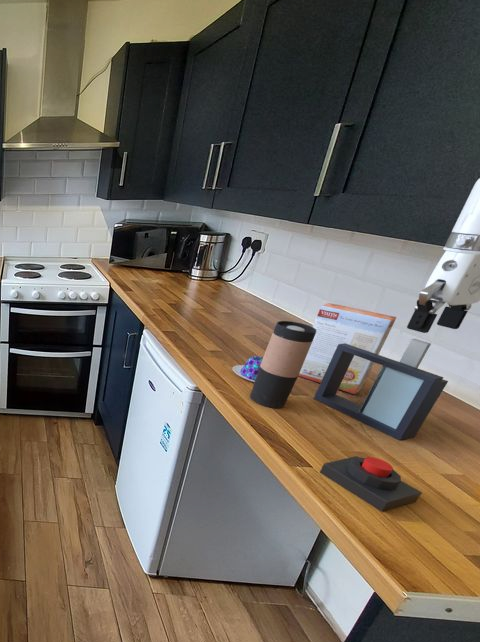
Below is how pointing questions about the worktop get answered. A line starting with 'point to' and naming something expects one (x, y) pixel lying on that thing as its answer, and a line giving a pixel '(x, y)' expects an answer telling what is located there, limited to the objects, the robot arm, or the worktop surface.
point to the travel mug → (282, 363)
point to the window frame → (383, 393)
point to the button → (377, 467)
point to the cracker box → (345, 328)
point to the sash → (415, 352)
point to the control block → (370, 484)
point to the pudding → (249, 368)
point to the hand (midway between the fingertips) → (432, 328)
